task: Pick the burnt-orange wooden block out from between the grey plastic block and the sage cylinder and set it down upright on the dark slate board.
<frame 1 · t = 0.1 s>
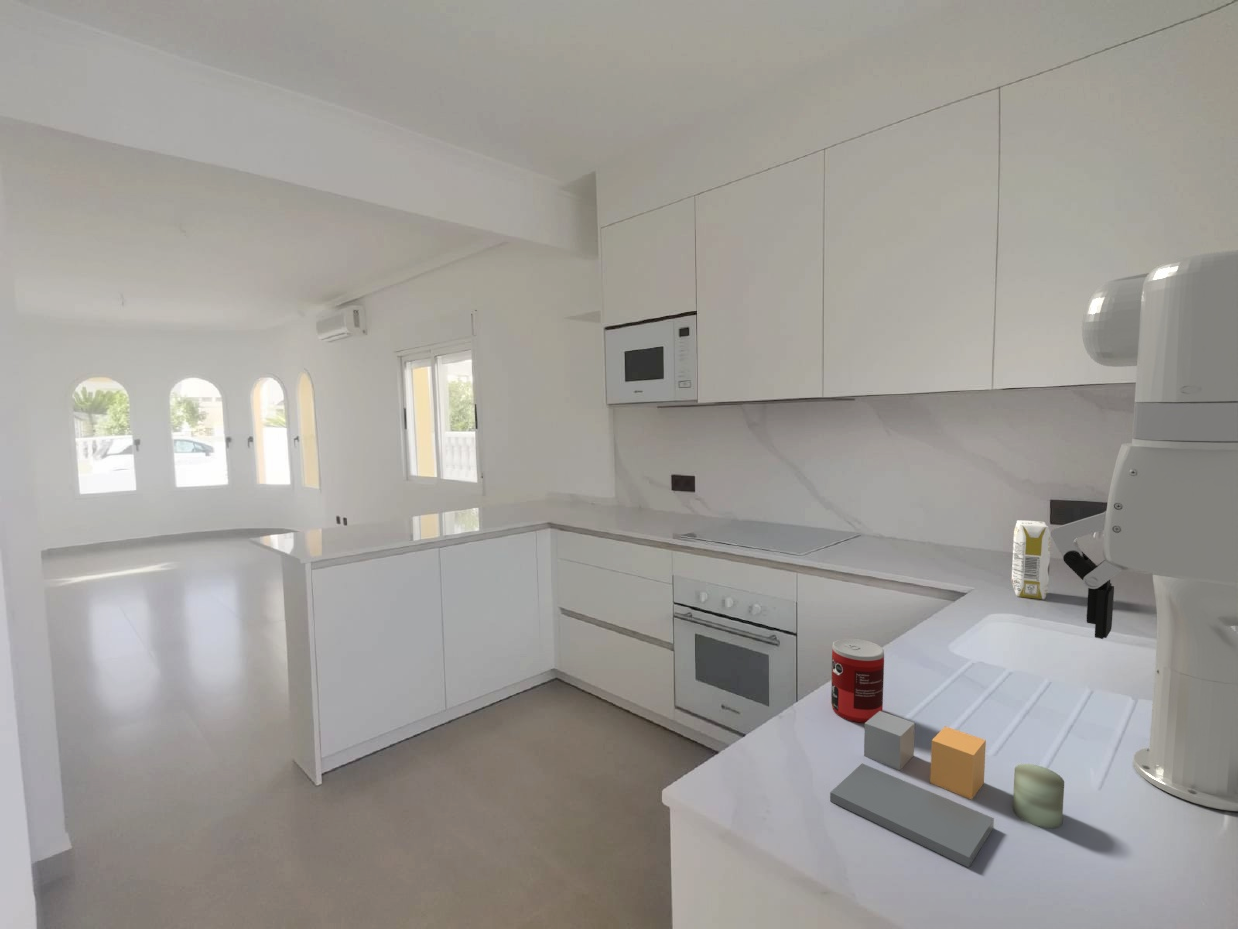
hand: (1181, 650, 47), 31 cm above the counter, tool pointing down, fingers open, 9 cm apart
slate board: (908, 814, 76), on the counter
grey block: (888, 756, 88), on the counter
juice carton: (1028, 595, 161), on the counter
canned food: (856, 713, 101), on the counter
sage cylinder: (1037, 814, 75), on the counter
orange block: (957, 783, 82), on the counter
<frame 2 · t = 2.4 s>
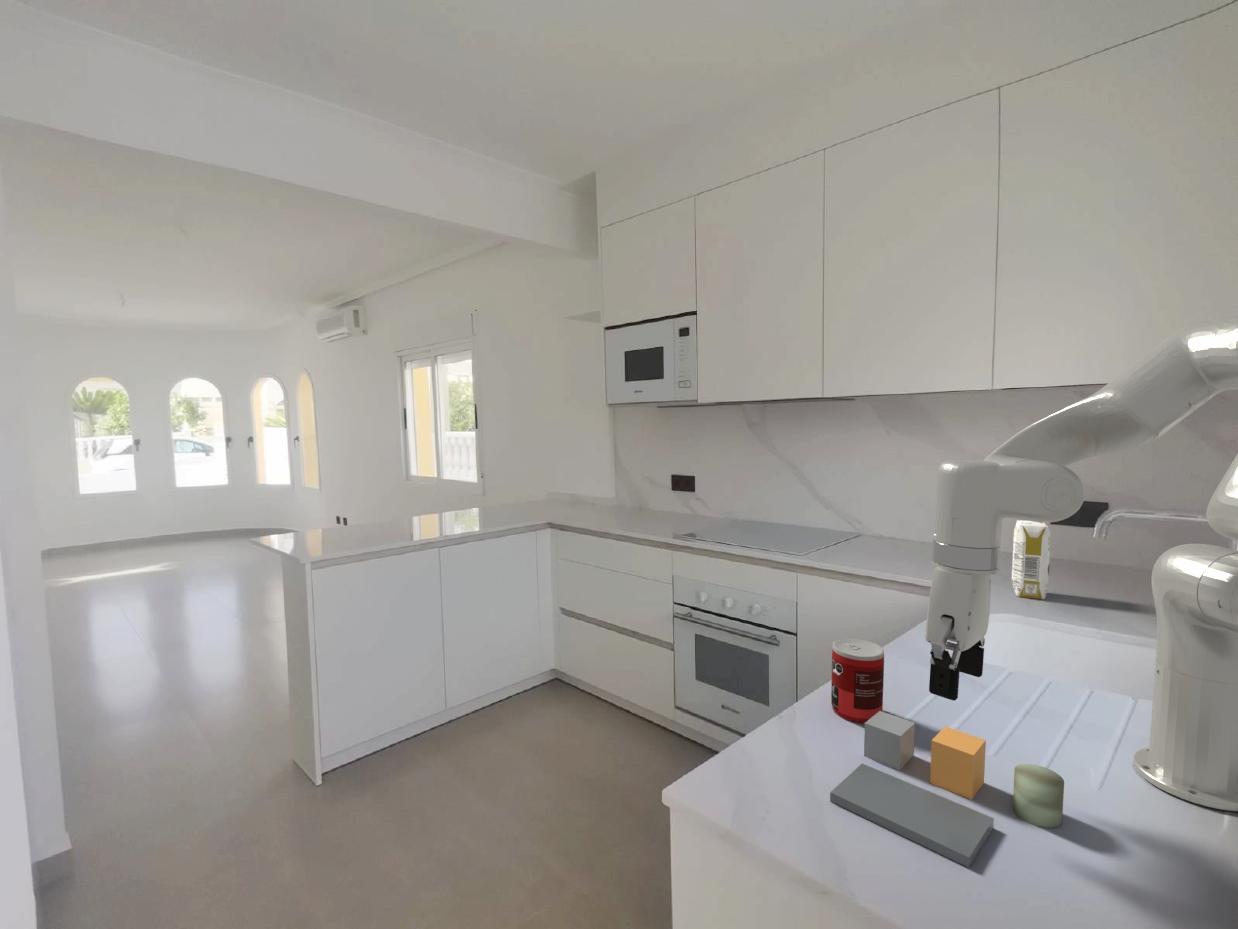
hand: (956, 684, 80), 14 cm above the counter, tool pointing down, fingers open, 9 cm apart
nothing on the counter moved.
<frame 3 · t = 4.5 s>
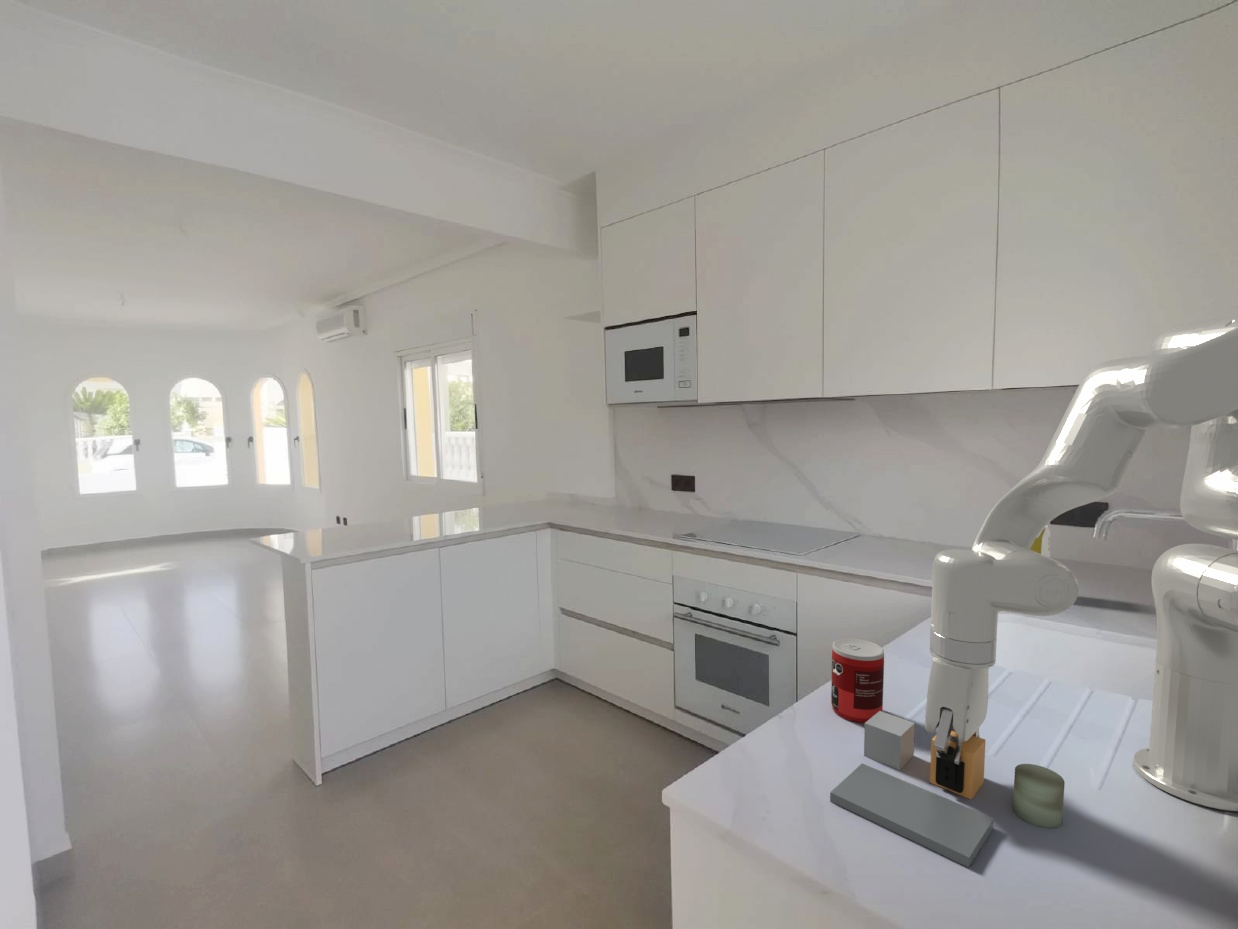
hand: (956, 776, 82), 1 cm above the counter, tool pointing down, fingers closed on orange block, 5 cm apart
orange block: (956, 782, 82), on the counter, touching gripper
everything else where it was.
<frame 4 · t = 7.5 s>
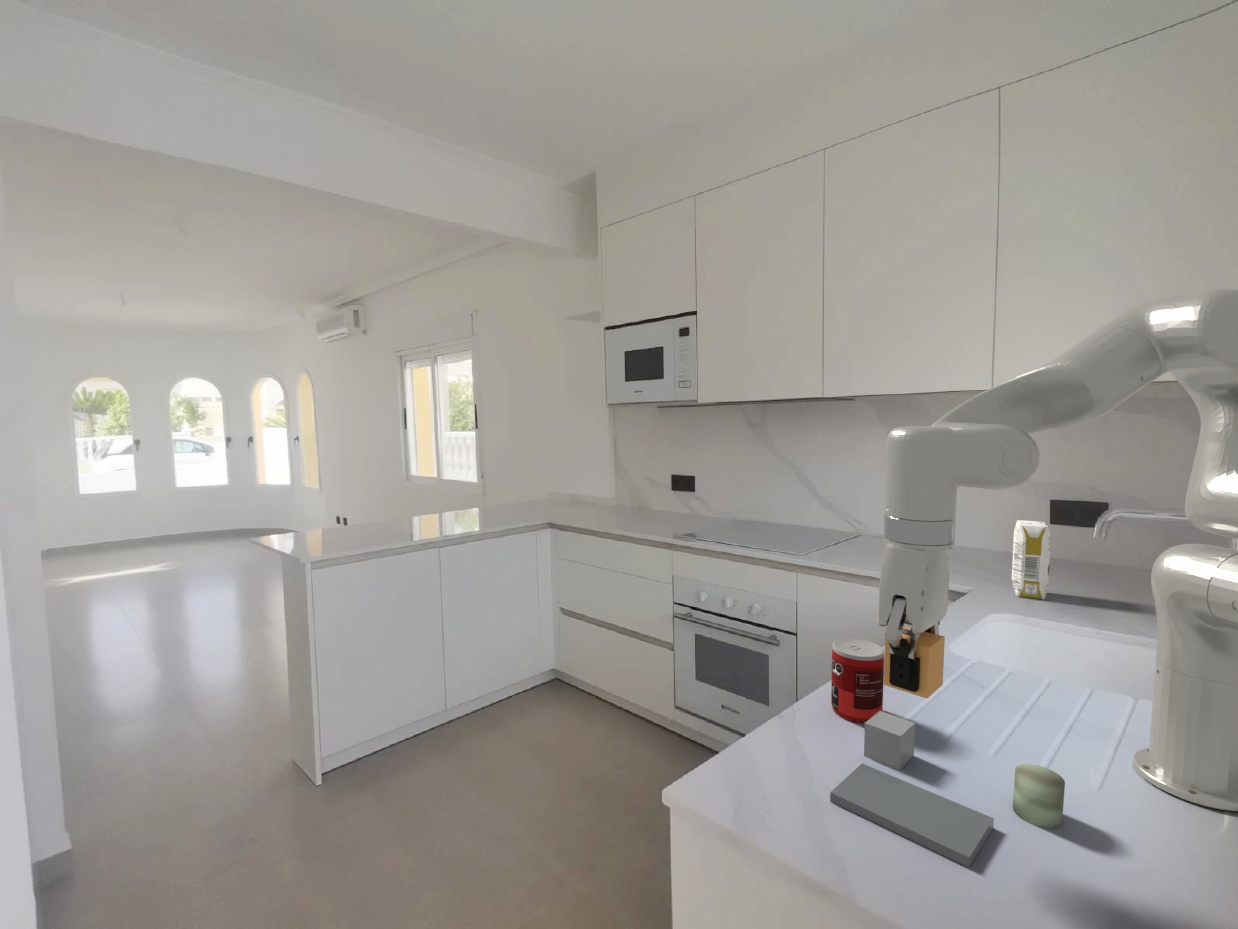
hand: (913, 678, 74), 17 cm above the counter, tool pointing down, fingers closed on orange block, 5 cm apart
orange block: (913, 684, 74), point 17 cm above the counter, touching gripper
everything else where it was.
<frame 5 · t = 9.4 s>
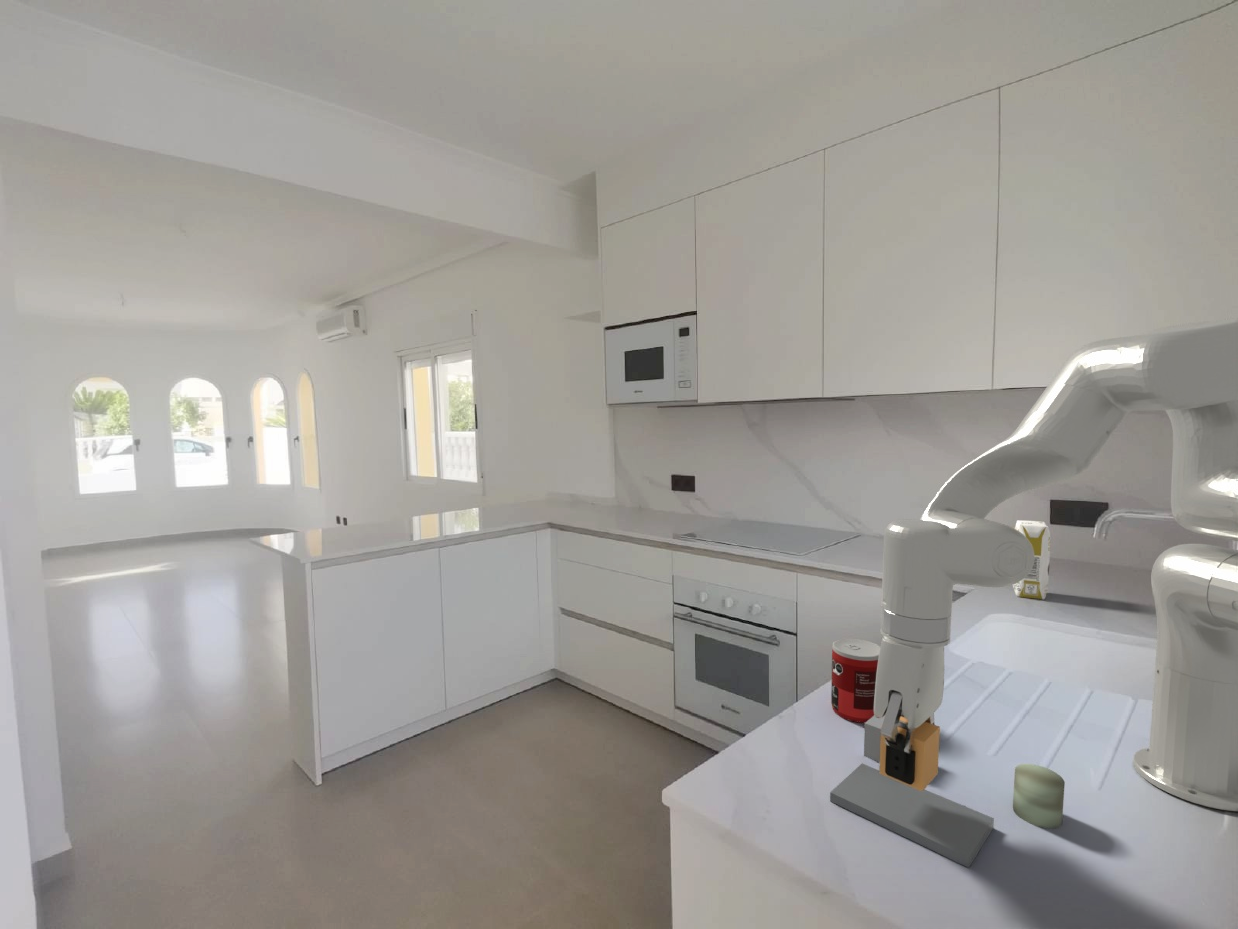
hand: (909, 767, 75), 6 cm above the counter, tool pointing down, fingers closed on orange block, 5 cm apart
orange block: (908, 773, 75), point 5 cm above the counter, touching gripper
everything else where it was.
when the fingers open (3 cm above the counter, at t = 10.8 s): orange block drops 1 cm, resting on slate board.
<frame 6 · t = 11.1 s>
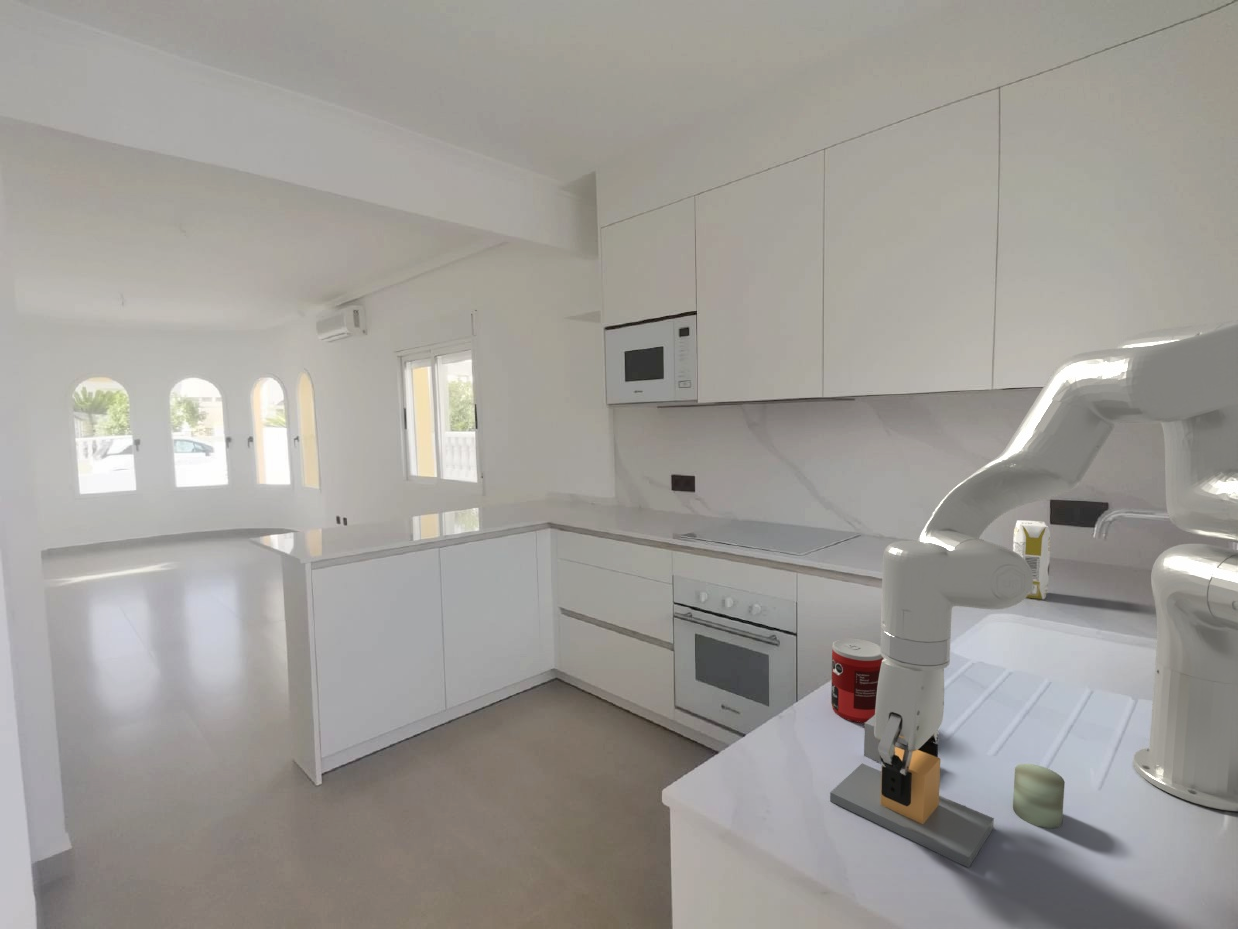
hand: (909, 784, 75), 4 cm above the counter, tool pointing down, fingers open, 7 cm apart
orange block: (909, 804, 75), point 1 cm above the counter, touching slate board
everything else where it was.
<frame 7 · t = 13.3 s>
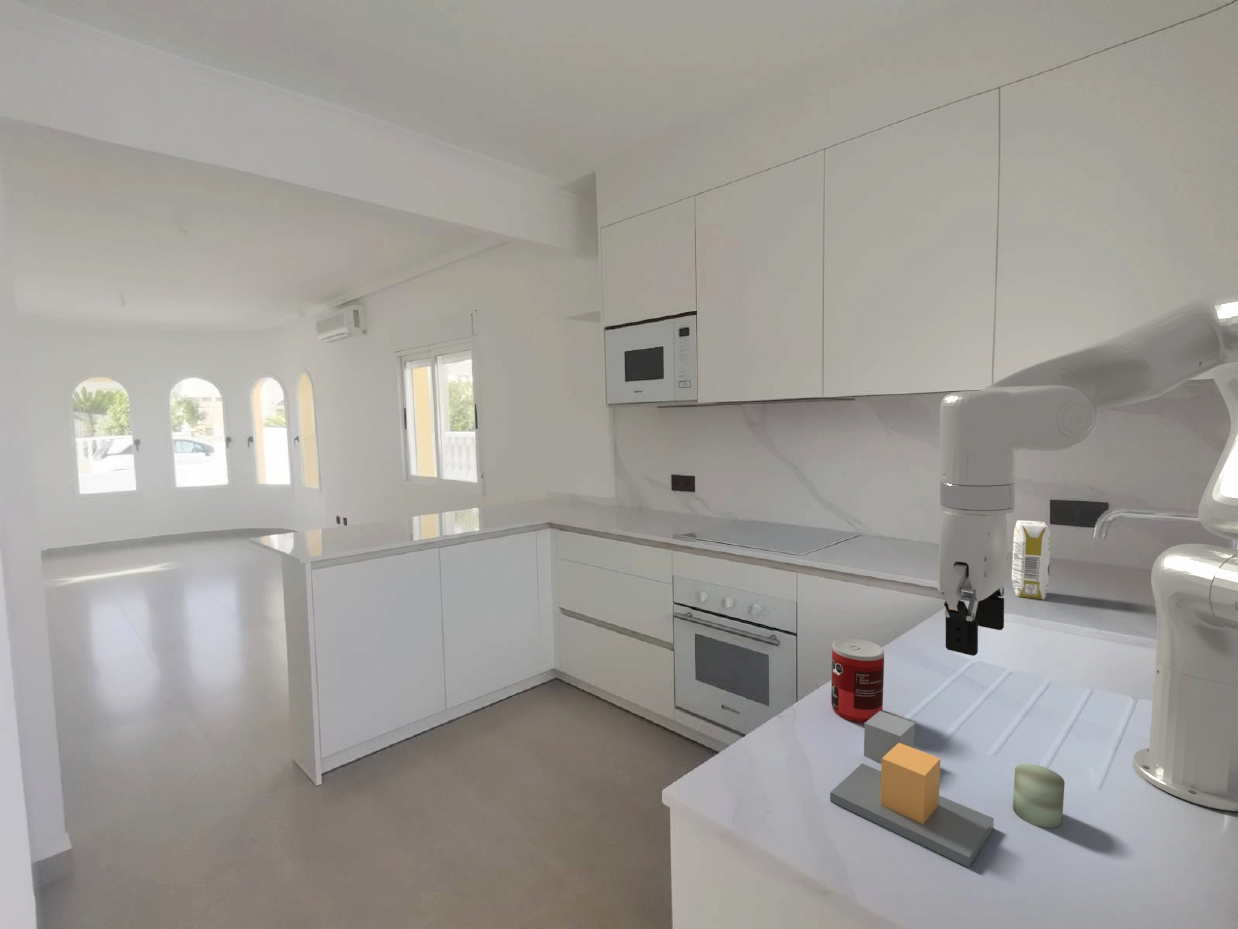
hand: (975, 639, 73), 22 cm above the counter, tool pointing down, fingers open, 9 cm apart
nothing on the counter moved.
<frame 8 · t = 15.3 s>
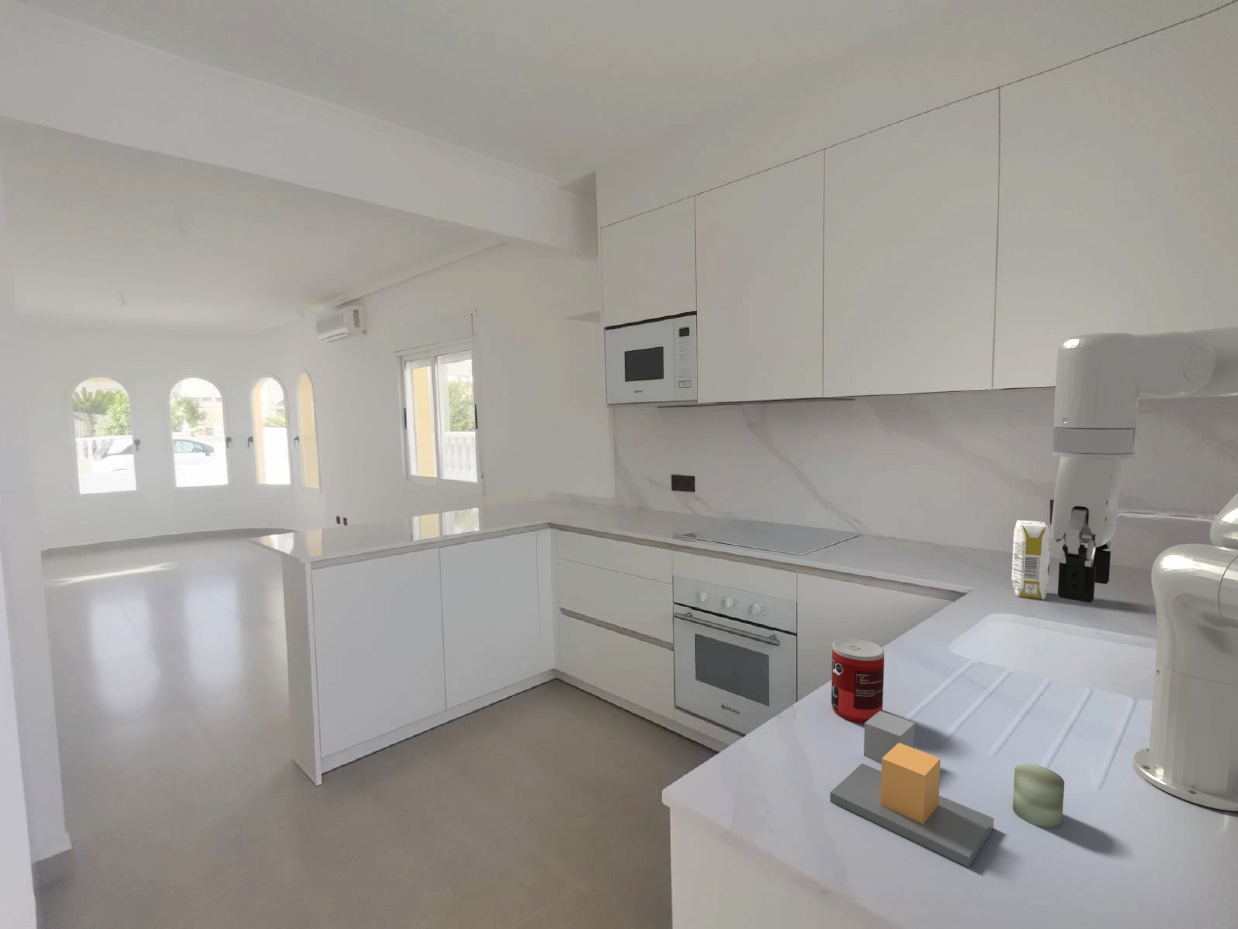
hand: (1083, 590, 72), 28 cm above the counter, tool pointing down, fingers open, 9 cm apart
nothing on the counter moved.
at the end: orange block inside the target area on the slate board (0.0 cm from its centre), point 1.2 cm above the slate board's base; orange block tilted 0°; grey block moved 0.1 cm from its start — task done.
